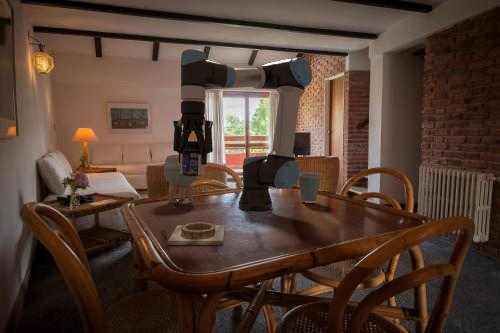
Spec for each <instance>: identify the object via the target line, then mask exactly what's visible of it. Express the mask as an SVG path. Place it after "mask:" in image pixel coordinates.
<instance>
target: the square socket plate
mask: <svg viewBox="0 0 500 333" xmlns="http://www.w3.org/2000/svg"><path fill="white" fill-rule="evenodd" d="M225 228H226V225H224V224H223V225H219V224H218V225H216V224H214V223H212V222H211V223H210V222H204V221H203V222H199V221H197V222H190V223H186V224H183V225H178V224H177V226H176V227H175V229H174V231H173V232H172V233H171V235H170V236H169V239H168V240H167V245H168V246H194V245H195V246H200V245H201V246H207V245H208V246H209V245H210V246H211V245H212V246H221V245H224V241H225V240H224V239H225Z"/></svg>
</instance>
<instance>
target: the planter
mask: <svg viewBox="0 0 500 333" xmlns="http://www.w3.org/2000/svg"><path fill="white" fill-rule="evenodd" d="M163 175H164V178H165V179H166V181H167V182H168V183H169V184H171V186H170V193H169V196H168V201H167V202H168V203H169V204H172V203H173V202H174V200H175V196H176V192H177V189H178V187H179V199H180V200H184V199H185V195H186V196H187V200H188V202H189V204H191V203H194V197H193V193H192V188H191V187H192V186H191V185H192V184H193V183H194V182H195V181H196V180H197V178H198V176H184V175H183V174H180V163H179V154H168V155H167V156H166V157H165V161H164V164H163ZM185 193H186V194H185Z"/></svg>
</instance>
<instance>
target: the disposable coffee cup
mask: <svg viewBox="0 0 500 333" xmlns="http://www.w3.org/2000/svg"><path fill="white" fill-rule="evenodd" d="M321 179H322V175H321V173H316V172H315V173H314V172H300V176H299V179H298V180H299V188H300V189H299V190H300V198H301V200H302V201H316V202H317V196H318V192H319V189H320V188H319V187H320V183H321ZM302 201H301V202H302Z"/></svg>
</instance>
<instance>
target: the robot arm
mask: <svg viewBox="0 0 500 333" xmlns="http://www.w3.org/2000/svg"><path fill="white" fill-rule="evenodd" d="M180 55H181V57H180V100H181V102H180V113H181V117H180V119H178V120H174V121H173V122H172V123H173V128H174V131H173V148H172V149H173V152H177V153H178V154H177V155H179V163H180V174H183V150H184V149H185V148H186V145H185V141H190V140H189V139H190V136H191V134H192V132H193V133H194V134H195V138H196V141H197V142H198V145H199V149H200V153H199V154H200V155H198V175H201V176H204V175H206V174H205V173H206V171H205V170H206V165H207V164H208V154H210V153H213V151H214V147H213V125H214V121H213V120H209V119H206V117H205V113H206V103H205V102H204V101H205V99H206V91H208V90H222V89H224V90H225V89H237V88H239V89H241V88H253V89H256V90H260V89H261V90H262V89H263V90H275V91H276V92H277V93H278V95H279V96H278V104H277V110H276V111H277V112H276V119H275V125H274V126H275V127H274V133H273V142H272V149H271V151H270V152H269V153H268V154H267V155H254V156H246V157H245V158H244V159H243V160H242V162H243V165H242V192H241V195H240V198H239V199H238V200H239V201H238V209H241V210H245V211H249V212H250V211H251V212H261V210H264V211H268V210H267V209H269V210H271V209H273V200H272V197H271V194H270V188H276V189H280V190H283V189H284V190H289V189H291V188H293V187H294V186H295V185H296V184H297V183H298V181H299V180H300V179H299V176H300V173H301V168H300V165H299V163H298V162H297V161H296V160H297V158H296V156H295V155H294V145H295V138H296V130H297V123H298V122H297V121H298V114H299V109H300V108H299V107H300V99H301V96H302V95H304V93H305V91H306V90H305V88H306V87H307V86H309V85H310V84H311V83H312V80H313V71H312V67H311V65H310V63H309V61H308V60H307V59H306V58H305V57H301V56H298V57H291V58H288V59H284V60H280V61H279V60H278V61H274V62H270V63H267V64H262V65H255V66H253V67H251V68H234V67H233V66H231V65H227V64H226V63H225V64H223V63H219V62H215V61H211V60H208V59H207V58H206V56H207V55H206V52H204V51H203V50H201V49H197V48H190V49H189V48H188V49H184V50H183V51H182V52H181V54H180ZM203 126H204V128H203ZM270 208H271V209H270Z"/></svg>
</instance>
